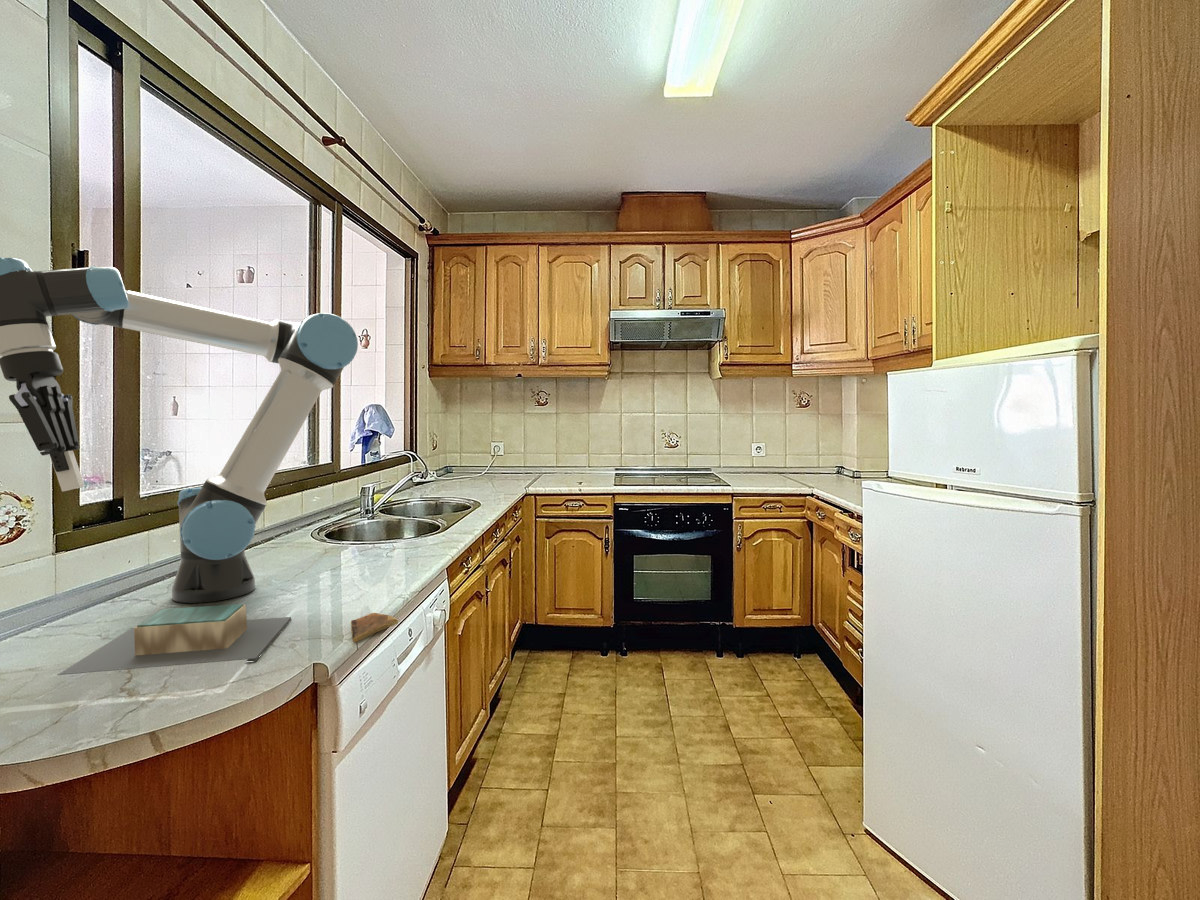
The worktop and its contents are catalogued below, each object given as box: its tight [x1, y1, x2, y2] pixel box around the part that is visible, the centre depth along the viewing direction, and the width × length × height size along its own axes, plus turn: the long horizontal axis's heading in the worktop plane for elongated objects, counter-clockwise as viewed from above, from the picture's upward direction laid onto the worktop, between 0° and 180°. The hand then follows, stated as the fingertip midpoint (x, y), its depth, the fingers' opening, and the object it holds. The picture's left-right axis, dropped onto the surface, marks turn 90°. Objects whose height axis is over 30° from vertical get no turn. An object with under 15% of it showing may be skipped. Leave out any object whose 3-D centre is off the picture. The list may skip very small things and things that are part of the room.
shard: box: [350, 612, 399, 643], centre depth 107 cm, size 11×8×2 cm
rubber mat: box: [57, 616, 292, 676], centre depth 100 cm, size 26×20×1 cm
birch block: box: [133, 603, 248, 656], centre depth 100 cm, size 5×9×13 cm
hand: (73, 489), depth 104 cm, fingers closed
